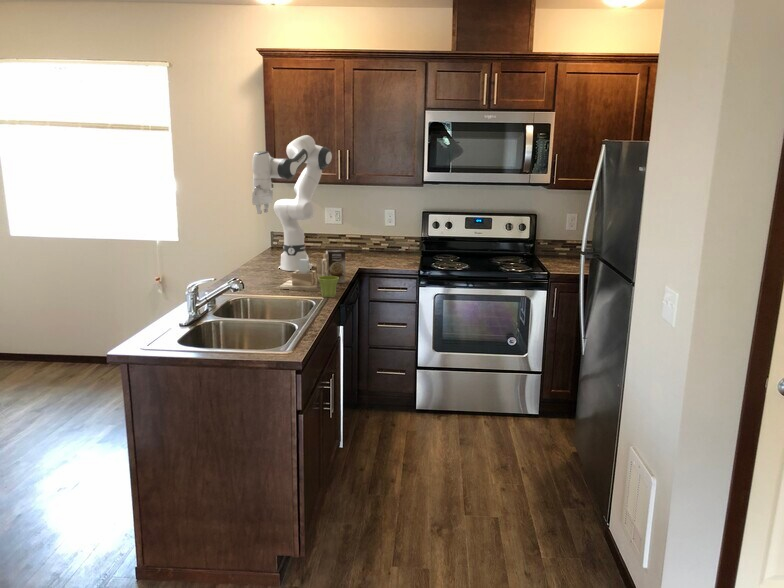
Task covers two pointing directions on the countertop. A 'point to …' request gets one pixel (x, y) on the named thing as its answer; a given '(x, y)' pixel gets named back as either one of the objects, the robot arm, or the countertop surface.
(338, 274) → the coffee box
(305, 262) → the block
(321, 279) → the plant pot
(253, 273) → the countertop surface
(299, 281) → the caddy
